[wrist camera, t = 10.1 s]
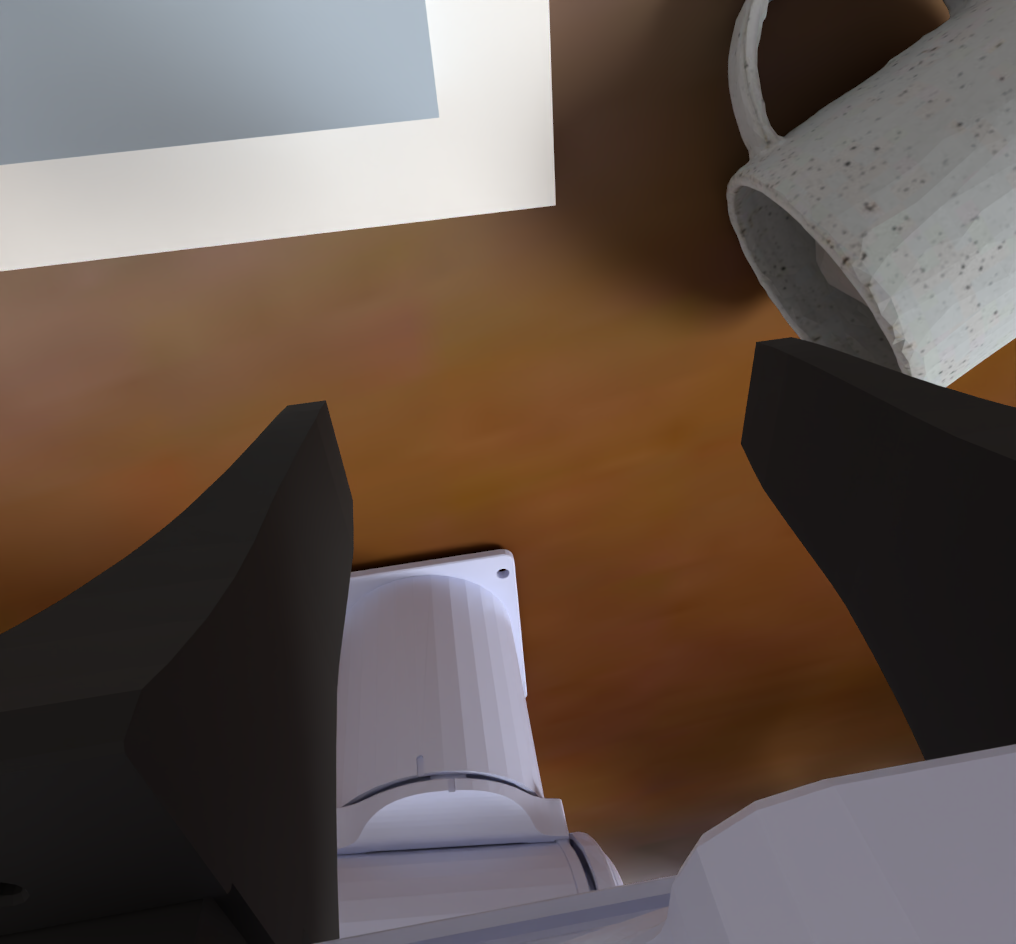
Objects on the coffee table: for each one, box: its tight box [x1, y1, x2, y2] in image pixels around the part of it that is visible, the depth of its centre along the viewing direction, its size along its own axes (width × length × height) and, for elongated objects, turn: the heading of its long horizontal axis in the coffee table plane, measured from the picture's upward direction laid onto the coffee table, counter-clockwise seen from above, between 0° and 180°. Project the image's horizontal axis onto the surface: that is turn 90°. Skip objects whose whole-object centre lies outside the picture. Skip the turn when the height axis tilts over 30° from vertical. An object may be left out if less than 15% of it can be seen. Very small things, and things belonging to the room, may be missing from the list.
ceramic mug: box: [726, 0, 1016, 387], centre depth 16 cm, size 11×8×8 cm
